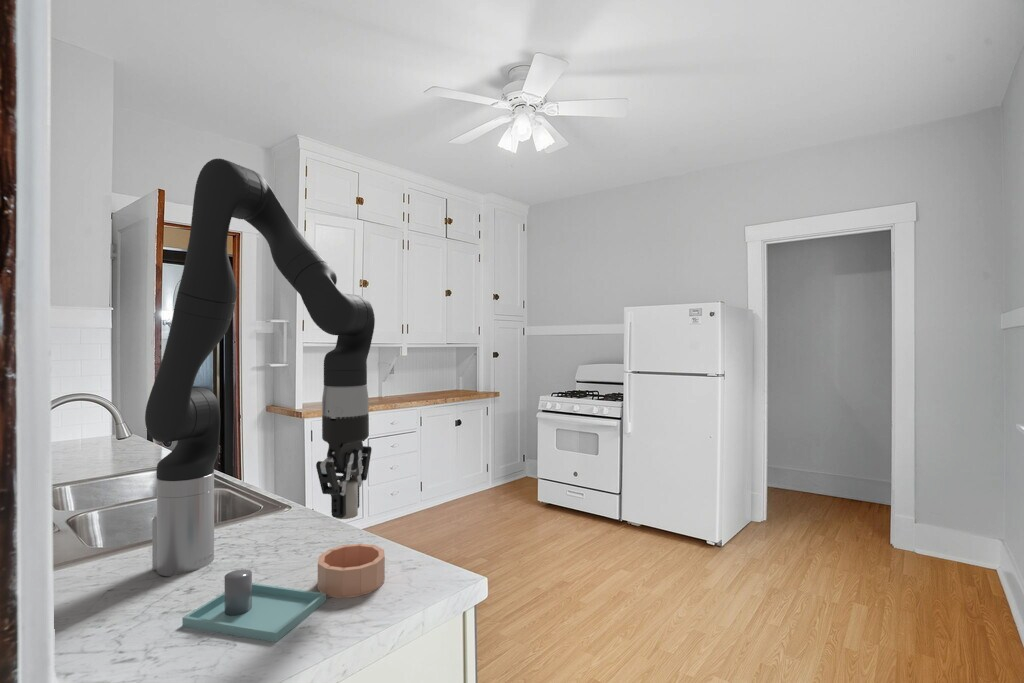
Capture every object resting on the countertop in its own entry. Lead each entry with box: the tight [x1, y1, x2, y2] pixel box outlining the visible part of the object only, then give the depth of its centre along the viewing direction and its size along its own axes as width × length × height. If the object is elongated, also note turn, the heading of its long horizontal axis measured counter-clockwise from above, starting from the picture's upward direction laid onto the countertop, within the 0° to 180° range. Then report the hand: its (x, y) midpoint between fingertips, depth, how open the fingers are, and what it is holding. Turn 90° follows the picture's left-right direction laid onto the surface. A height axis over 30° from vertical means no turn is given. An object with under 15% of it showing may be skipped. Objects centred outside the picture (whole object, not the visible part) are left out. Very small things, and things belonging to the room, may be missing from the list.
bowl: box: [317, 543, 386, 599], centre depth 94 cm, size 11×11×5 cm
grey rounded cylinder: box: [224, 568, 253, 616], centre depth 84 cm, size 4×4×6 cm
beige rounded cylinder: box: [336, 480, 359, 520], centre depth 92 cm, size 4×4×6 cm
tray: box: [182, 582, 327, 643], centre depth 84 cm, size 16×12×2 cm
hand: (345, 512), depth 92 cm, fingers closed on beige rounded cylinder, 3 cm apart
